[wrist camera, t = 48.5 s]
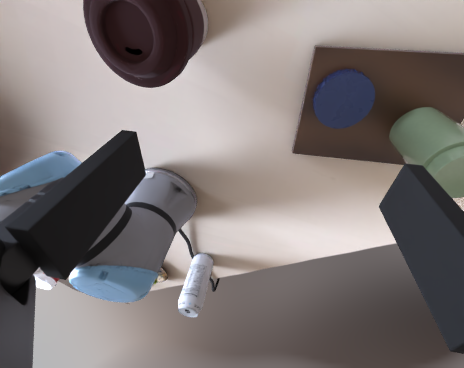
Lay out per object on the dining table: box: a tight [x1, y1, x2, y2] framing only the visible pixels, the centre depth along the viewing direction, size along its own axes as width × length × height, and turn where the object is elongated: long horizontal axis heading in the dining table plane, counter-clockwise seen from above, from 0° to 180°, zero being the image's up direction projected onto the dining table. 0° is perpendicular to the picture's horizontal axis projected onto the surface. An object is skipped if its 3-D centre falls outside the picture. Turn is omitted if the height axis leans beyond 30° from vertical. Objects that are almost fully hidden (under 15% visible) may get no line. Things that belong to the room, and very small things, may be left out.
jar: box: [389, 107, 464, 198], centre depth 30 cm, size 7×7×12 cm
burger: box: [154, 268, 168, 284], centre depth 72 cm, size 12×12×8 cm
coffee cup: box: [83, 0, 208, 88], centre depth 26 cm, size 10×10×15 cm
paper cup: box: [34, 273, 59, 290], centre depth 67 cm, size 8×8×14 cm
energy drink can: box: [178, 253, 214, 317], centre depth 61 cm, size 6×6×15 cm
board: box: [292, 46, 464, 165], centre depth 34 cm, size 16×22×1 cm
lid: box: [313, 69, 375, 129], centre depth 32 cm, size 8×8×2 cm
